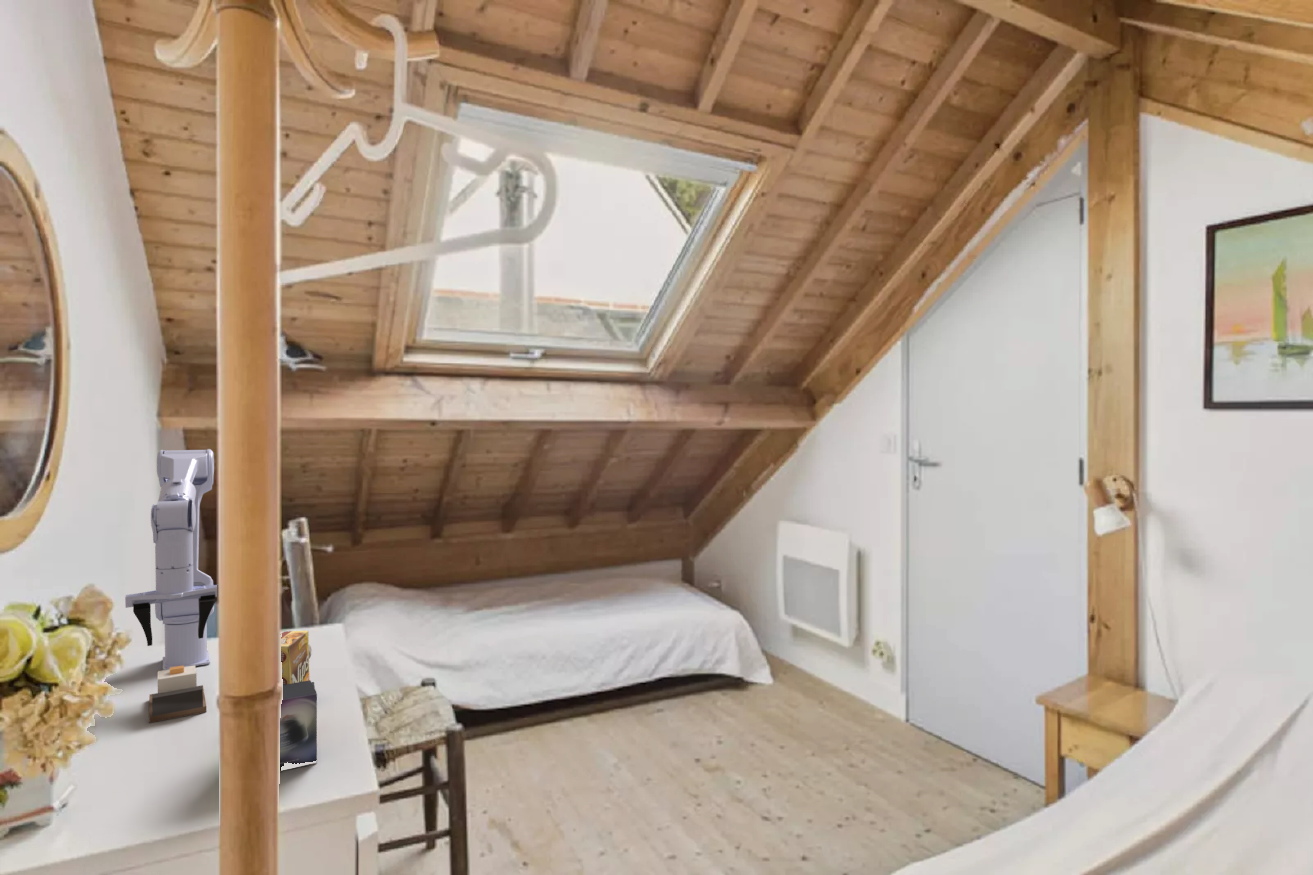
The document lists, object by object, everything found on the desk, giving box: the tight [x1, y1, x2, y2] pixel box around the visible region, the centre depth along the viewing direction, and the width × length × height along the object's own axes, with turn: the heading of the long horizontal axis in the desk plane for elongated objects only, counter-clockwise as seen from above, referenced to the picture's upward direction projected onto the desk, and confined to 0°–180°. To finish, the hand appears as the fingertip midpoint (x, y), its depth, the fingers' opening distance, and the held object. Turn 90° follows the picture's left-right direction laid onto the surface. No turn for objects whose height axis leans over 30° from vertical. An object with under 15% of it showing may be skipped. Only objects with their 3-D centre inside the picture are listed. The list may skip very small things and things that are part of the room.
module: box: [157, 665, 198, 693], centre depth 125 cm, size 5×6×6 cm
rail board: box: [148, 684, 207, 724], centre depth 125 cm, size 12×8×4 cm, turn 35°
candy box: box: [281, 630, 310, 685], centre depth 113 cm, size 9×4×15 cm, turn 8°
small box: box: [280, 679, 318, 772], centre depth 103 cm, size 11×6×10 cm, turn 123°
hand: (175, 640), depth 132 cm, fingers open, 7 cm apart
